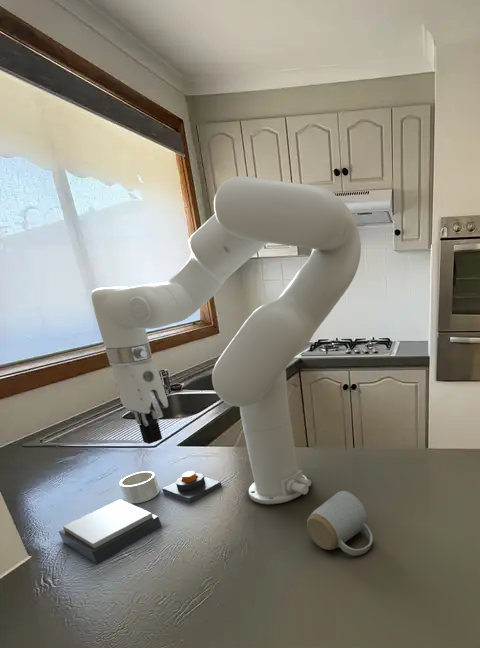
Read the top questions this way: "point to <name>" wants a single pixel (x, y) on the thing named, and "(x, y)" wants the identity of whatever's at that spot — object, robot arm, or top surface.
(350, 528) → the ceramic mug
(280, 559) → the top surface
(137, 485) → the white cup
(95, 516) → the scale
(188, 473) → the button
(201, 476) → the pad
